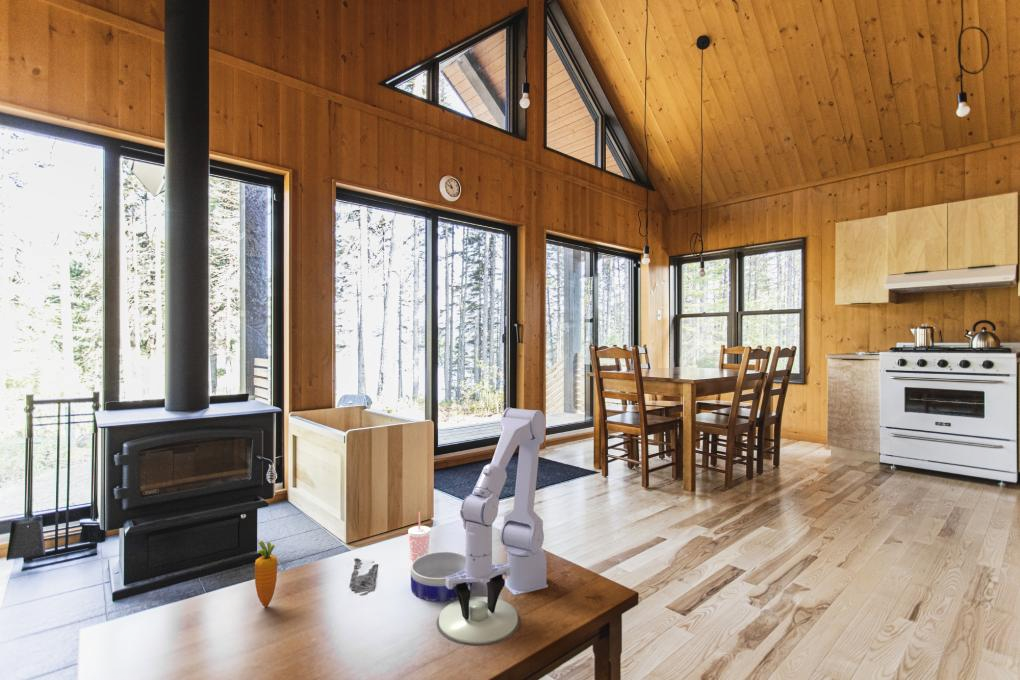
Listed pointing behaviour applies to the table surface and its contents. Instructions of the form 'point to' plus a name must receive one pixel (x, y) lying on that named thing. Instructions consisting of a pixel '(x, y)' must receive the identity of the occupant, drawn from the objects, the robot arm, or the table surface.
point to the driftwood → (362, 579)
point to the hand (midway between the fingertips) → (478, 613)
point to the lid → (478, 621)
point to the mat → (477, 644)
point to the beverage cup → (418, 541)
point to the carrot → (265, 574)
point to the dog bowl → (436, 575)
